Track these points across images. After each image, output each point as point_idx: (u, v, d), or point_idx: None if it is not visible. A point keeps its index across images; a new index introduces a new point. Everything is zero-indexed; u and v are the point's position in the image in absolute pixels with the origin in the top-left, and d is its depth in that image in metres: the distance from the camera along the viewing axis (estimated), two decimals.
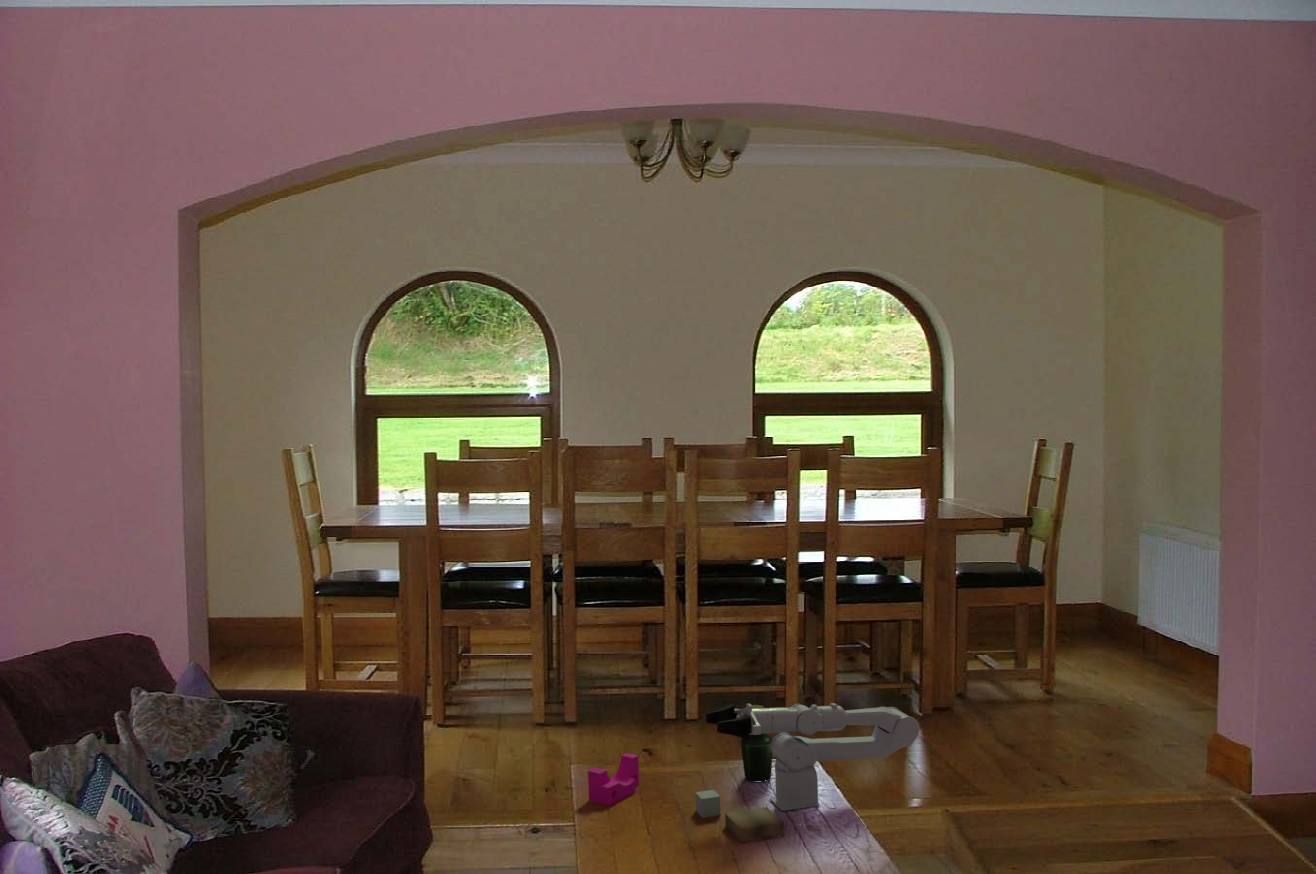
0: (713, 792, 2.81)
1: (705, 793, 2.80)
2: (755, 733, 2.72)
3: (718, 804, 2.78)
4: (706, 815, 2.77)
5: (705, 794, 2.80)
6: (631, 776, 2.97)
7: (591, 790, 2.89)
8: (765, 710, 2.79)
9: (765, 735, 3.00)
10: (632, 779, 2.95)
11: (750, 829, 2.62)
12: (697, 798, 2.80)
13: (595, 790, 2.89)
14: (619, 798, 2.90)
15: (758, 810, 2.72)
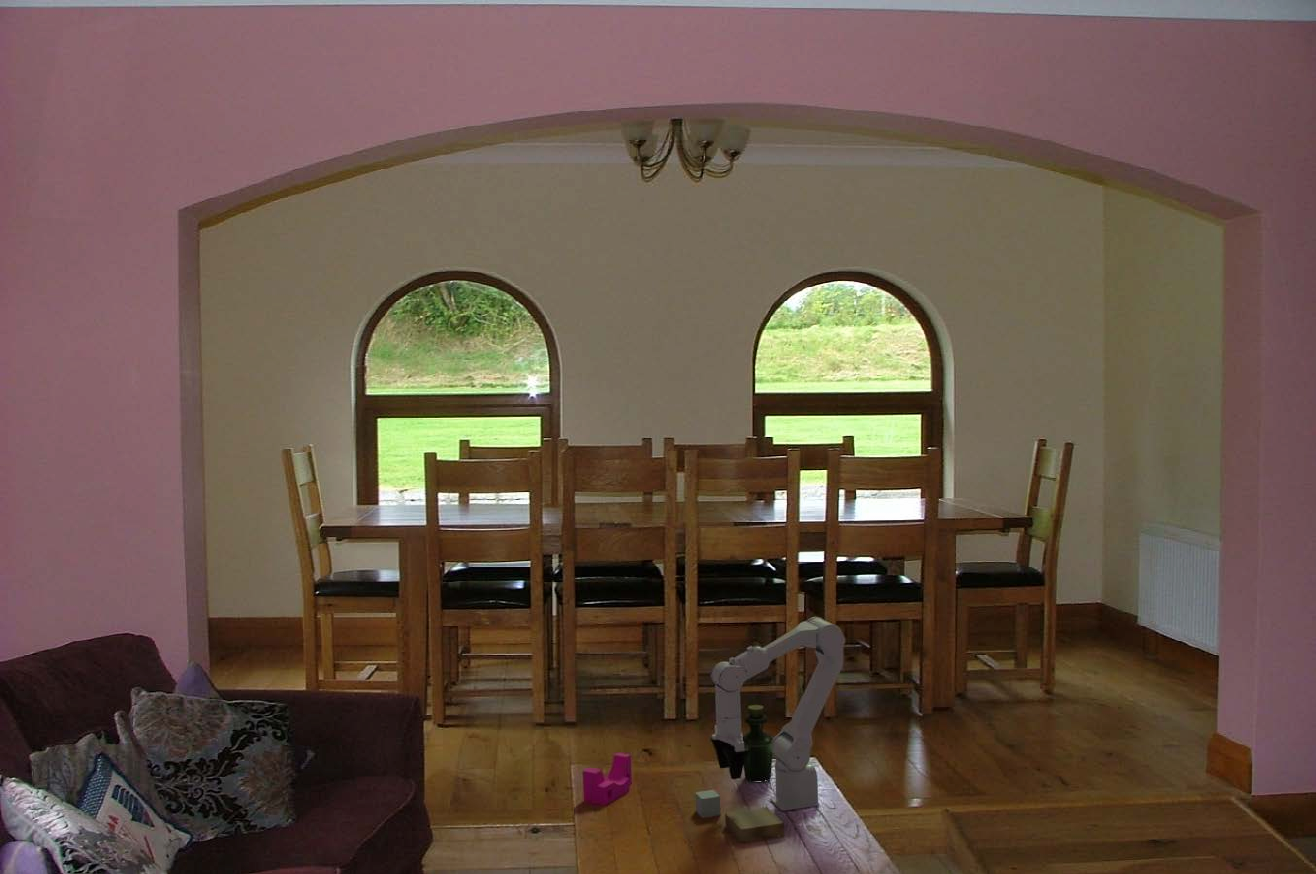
0: (713, 792, 2.81)
1: (705, 793, 2.80)
2: (743, 748, 2.71)
3: (718, 804, 2.78)
4: (706, 815, 2.77)
5: (705, 794, 2.80)
6: (624, 775, 2.98)
7: (586, 790, 2.90)
8: (718, 721, 2.76)
9: (765, 735, 3.00)
10: (625, 778, 2.95)
11: (750, 829, 2.62)
12: (697, 798, 2.80)
13: (590, 790, 2.89)
14: (614, 797, 2.90)
15: (758, 810, 2.72)
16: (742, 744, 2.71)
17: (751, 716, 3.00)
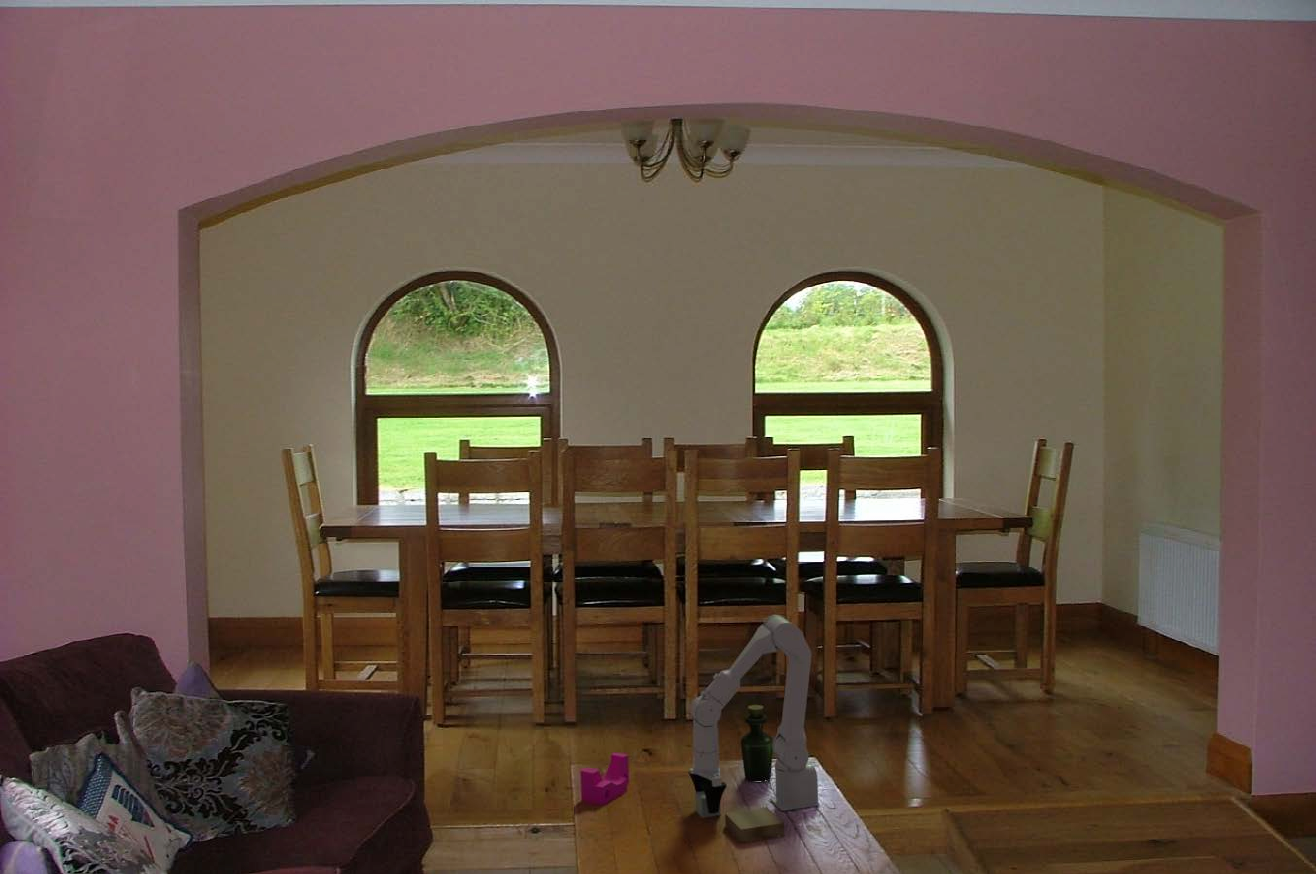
0: None
1: None
2: (720, 783, 2.72)
3: None
4: (706, 815, 2.77)
5: None
6: (622, 775, 2.98)
7: (584, 790, 2.90)
8: (696, 756, 2.77)
9: (765, 735, 3.00)
10: (623, 778, 2.96)
11: (750, 829, 2.62)
12: (697, 798, 2.80)
13: (588, 790, 2.89)
14: (612, 797, 2.90)
15: (758, 810, 2.72)
16: (719, 779, 2.72)
17: (751, 716, 3.00)
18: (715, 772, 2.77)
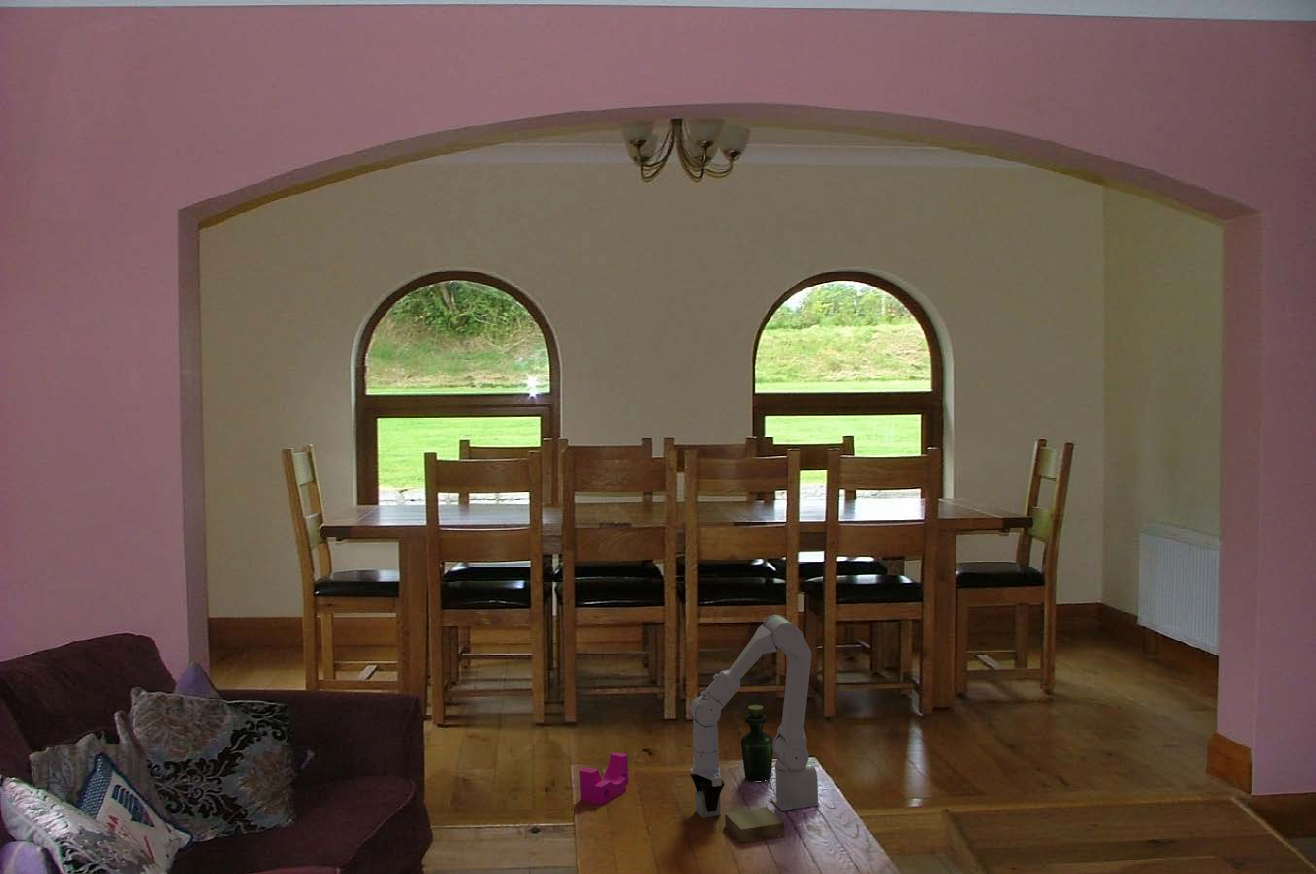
0: None
1: None
2: (720, 783, 2.72)
3: (718, 804, 2.78)
4: (706, 815, 2.77)
5: None
6: (621, 775, 2.98)
7: (583, 790, 2.90)
8: (696, 756, 2.77)
9: (765, 735, 3.00)
10: (622, 778, 2.96)
11: (750, 829, 2.62)
12: (697, 798, 2.80)
13: (587, 789, 2.89)
14: (611, 797, 2.90)
15: (758, 810, 2.72)
16: (719, 779, 2.72)
17: (751, 716, 3.00)
18: (715, 772, 2.77)
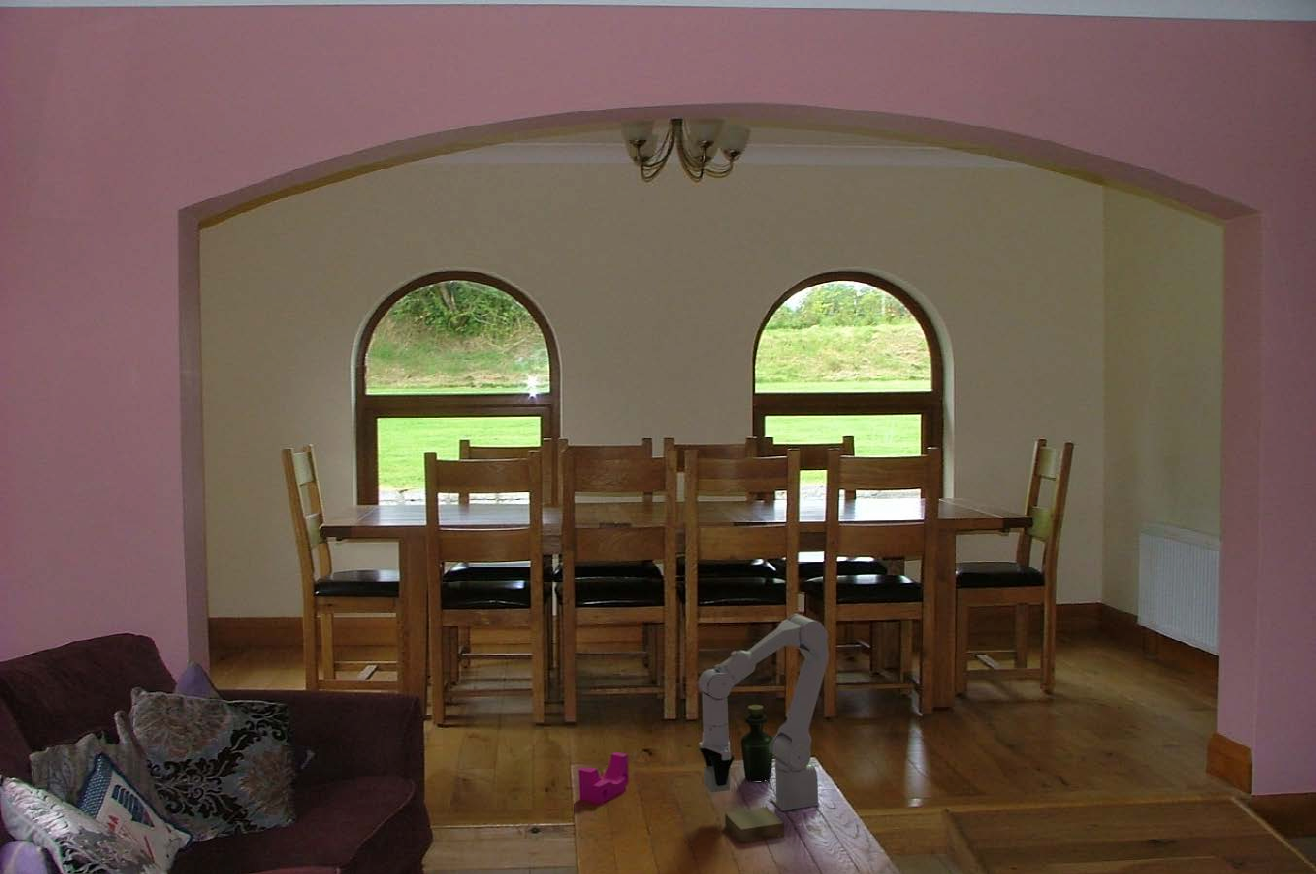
0: None
1: None
2: (730, 757, 2.69)
3: None
4: (715, 789, 2.74)
5: None
6: (621, 775, 2.99)
7: (582, 789, 2.90)
8: (706, 729, 2.74)
9: (765, 735, 3.00)
10: (622, 778, 2.96)
11: (750, 829, 2.62)
12: (706, 772, 2.76)
13: (586, 789, 2.90)
14: (610, 797, 2.91)
15: (758, 810, 2.72)
16: (729, 752, 2.69)
17: (751, 716, 3.00)
18: (725, 746, 2.73)
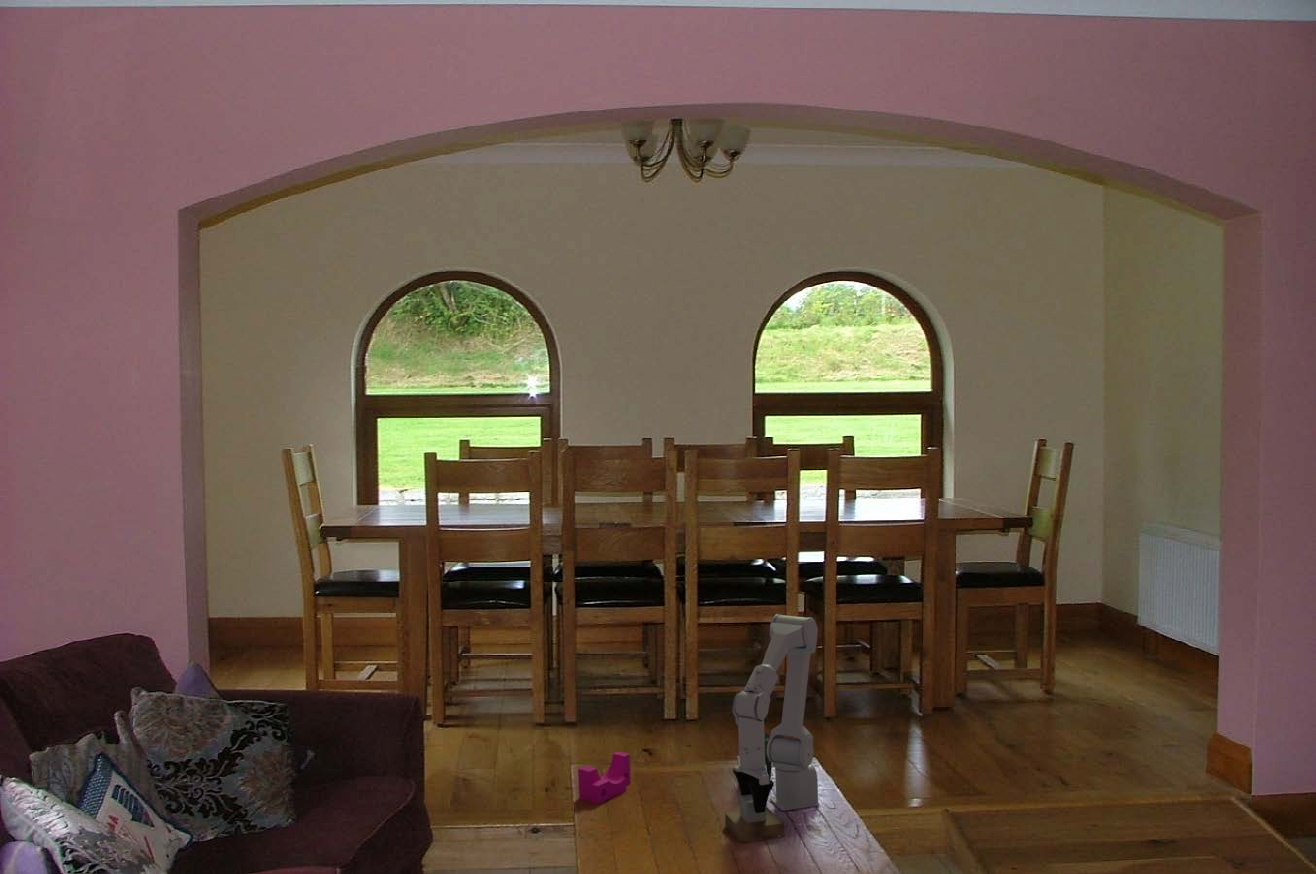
0: None
1: (750, 797, 2.68)
2: (767, 781, 2.60)
3: None
4: (751, 820, 2.65)
5: (750, 798, 2.68)
6: (622, 774, 2.99)
7: (581, 788, 2.91)
8: (742, 753, 2.65)
9: (765, 735, 3.00)
10: (622, 778, 2.96)
11: (750, 829, 2.62)
12: (742, 802, 2.68)
13: (585, 788, 2.90)
14: (609, 796, 2.91)
15: None
16: (767, 777, 2.60)
17: None
18: (762, 770, 2.65)
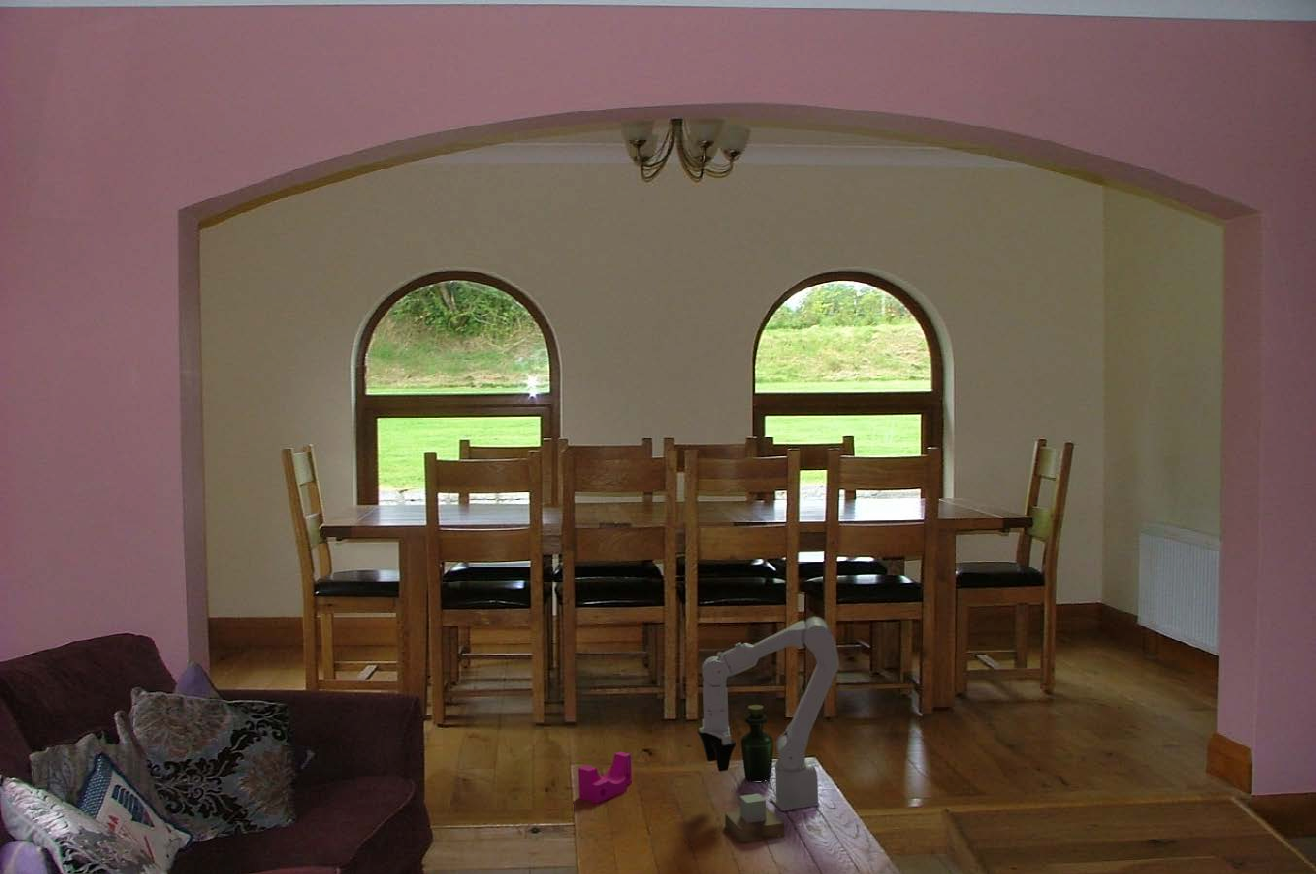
0: (758, 796, 2.69)
1: (750, 797, 2.68)
2: (730, 741, 2.77)
3: (764, 808, 2.66)
4: (751, 820, 2.65)
5: (750, 798, 2.68)
6: (623, 774, 2.99)
7: (581, 787, 2.91)
8: (706, 715, 2.81)
9: (765, 735, 3.00)
10: (623, 778, 2.96)
11: (750, 829, 2.62)
12: (742, 802, 2.68)
13: (585, 787, 2.91)
14: (609, 796, 2.91)
15: None
16: (729, 737, 2.77)
17: (751, 716, 3.00)
18: (725, 731, 2.81)
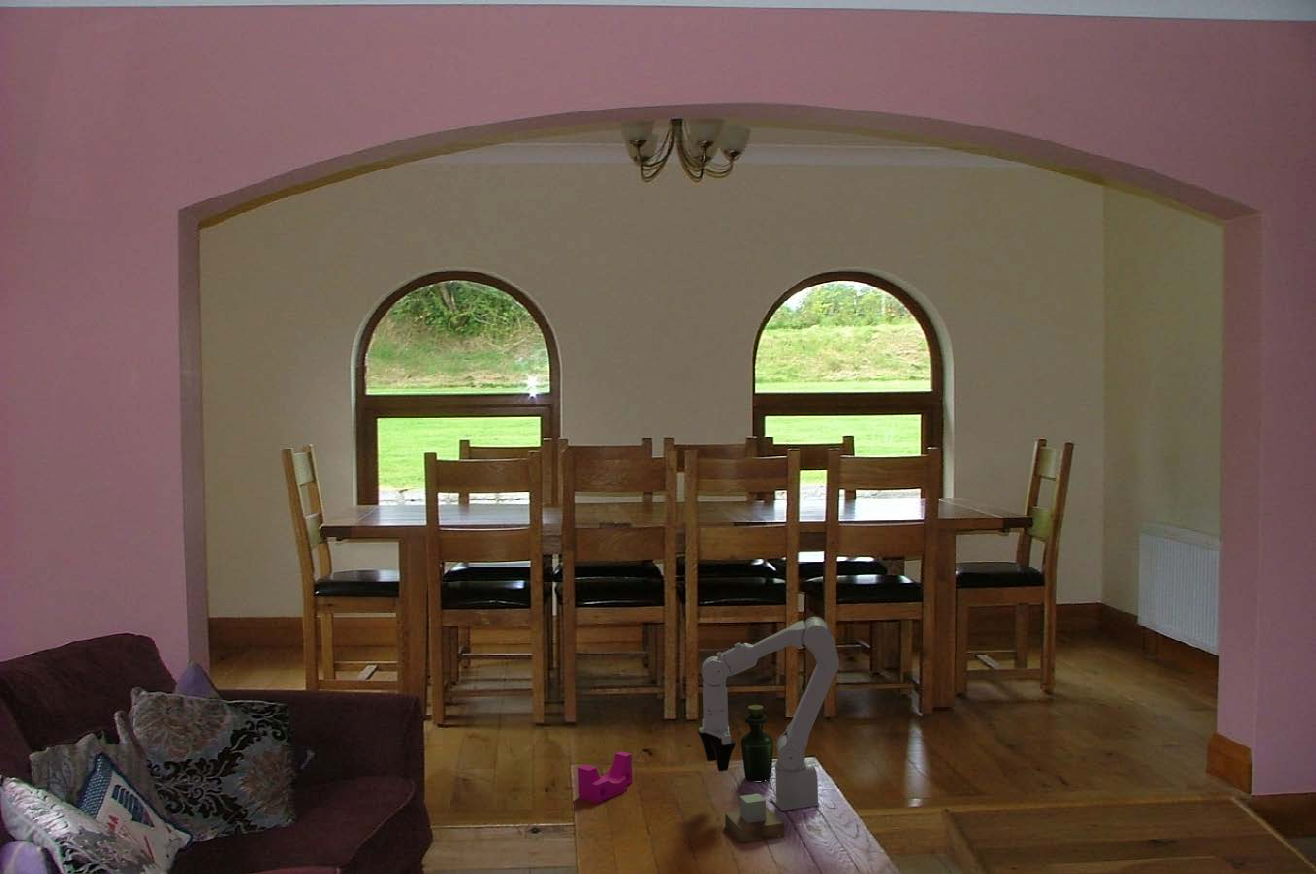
0: (758, 796, 2.69)
1: (750, 797, 2.68)
2: (729, 741, 2.77)
3: (764, 808, 2.66)
4: (751, 820, 2.65)
5: (750, 798, 2.68)
6: (623, 774, 2.99)
7: (581, 787, 2.92)
8: (706, 715, 2.82)
9: (765, 735, 3.00)
10: (623, 777, 2.96)
11: (750, 829, 2.62)
12: (742, 802, 2.68)
13: (584, 787, 2.91)
14: (608, 796, 2.91)
15: None
16: (729, 737, 2.77)
17: (751, 716, 3.00)
18: (724, 731, 2.81)
